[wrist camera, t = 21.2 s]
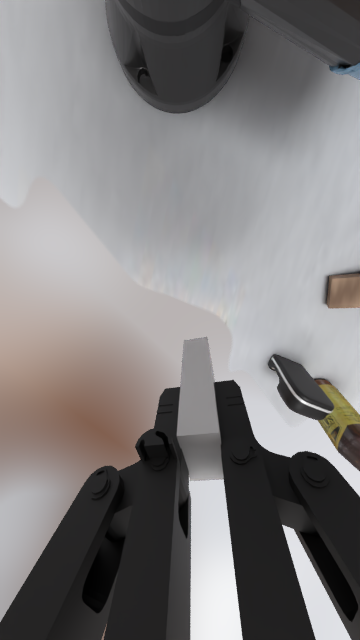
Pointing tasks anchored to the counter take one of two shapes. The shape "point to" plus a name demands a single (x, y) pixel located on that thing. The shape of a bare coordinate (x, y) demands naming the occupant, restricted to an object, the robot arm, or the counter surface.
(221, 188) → the counter surface
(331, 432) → the sauce bottle
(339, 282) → the domino
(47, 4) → the counter surface
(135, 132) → the counter surface
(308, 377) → the battery charger
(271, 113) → the counter surface
